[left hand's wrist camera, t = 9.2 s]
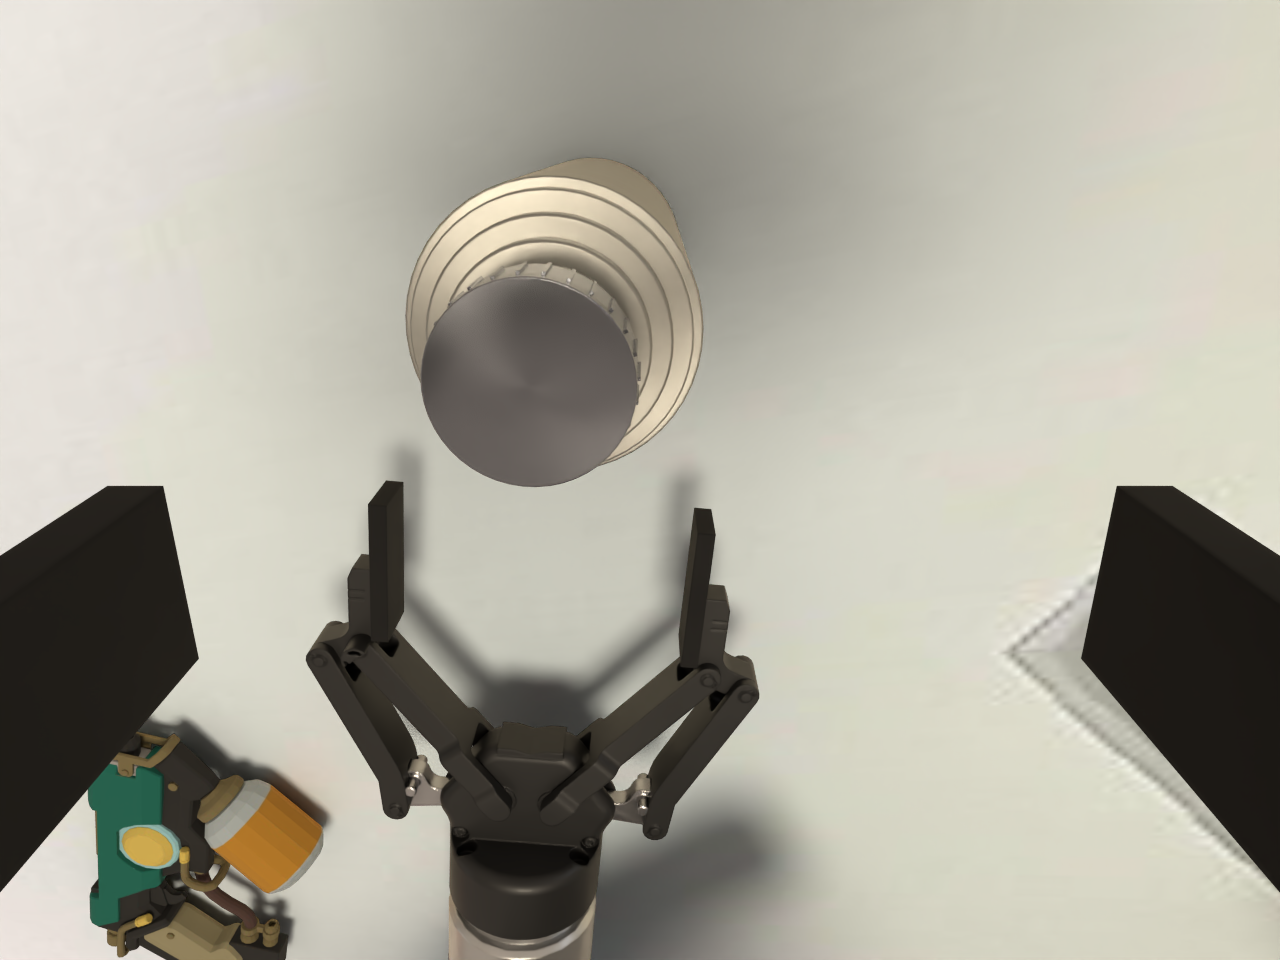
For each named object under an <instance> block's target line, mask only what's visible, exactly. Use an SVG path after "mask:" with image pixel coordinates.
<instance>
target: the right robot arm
mask: <svg viewBox="0 0 1280 960" xmlns="http://www.w3.org/2000/svg"><path fill="white" fill-rule="evenodd" d="M368 524H369V555H366V554H361V556H360V557H359V559H358V560H357V562H356V563H355V565H354V566H353V567H352V569H351V571H350V574H349V576H348V611H349V622H347V623H342V622H339V621H332V622H330V623H328V624H327V625H326V626H325V628H324V629H323V631H322V632H321V634H320V635H319V637H318V638H317V640H316V641H315V643H314V644H313V646H312V648H311V649H310V651H309V652H308V654H307V655H306V662H307V665H308V666H309V668H310V669H311V671H312V673H313V674H314V676H315V678H316V679H317V681H318V683H319V684H320V686H321V687H322V689H323V691H324V692H325V694H326V696H327V697H328V699H329V701H330V702H331V704H332V706H333V707H334V709H335V710H336V712H337V714H338V715H339V717H340V719H341V720H342V722H343V724H344V725H345V727H346V728H347V730H348V732H349V733H350V735H351V737H352V738H353V740H354V742H355V743H356V745H357V747H358V748H359V750H360V751H361V753H362V755H363V756H364V758H365V760H366V761H367V763H368V765H369V766H370V768H371V769H372V771H373V773H374V774H375V776H376V778H377V779H378V781H379V787H380V793H381V799H382V805H383V810H384V813H385V814H386V815H387V816H388V817H390V818H392V819H402V818H404V817H405V816H406V815H407V813H408V811H409V808H410V806H427V805H441V806H442V808H443V810H444V811H445V813H446V814H447V816H448V818H449V820H450V896H449V954H448V956H449V960H590V959H591V949H592V939H593V928H594V918H595V908H596V891H597V885H598V875H599V865H600V855H601V845H602V834H603V831H604V829H605V828H606V826H607V825H608V824H609V823H610V822H611V820H612V819H614V820H619V821H625V822H631V823H637V824H643V833H644V835H645V836H646V837H647V838H648V839H651V840H659V839H662V838H663V837H665V836H666V834H667V832H668V828H669V825H670V821H671V817H672V814H673V810H674V807H675V805H676V803H677V802H678V801H679V799H680V798H681V797H682V796H683V794H684V793H685V792H686V791H687V789H688V788H689V787H690V786H691V784H692V783H693V782H694V781H695V779H696V778H697V777H698V776H699V774H700V773H701V772H702V771H703V769H704V768H705V767H706V766H707V764H708V763H709V762H710V761H711V759H712V758H713V757H714V756H715V754H716V753H717V752H718V751H719V749H720V748H721V747H722V746H723V744H724V743H725V742H726V740H727V739H728V738H729V737H730V735H731V734H732V733H733V732H734V730H735V729H736V728H737V727H738V725H739V724H740V723H741V722H742V720H743V719H744V718H745V717H746V715H747V714H748V713H749V712H750V710H751V709H752V708H753V707H754V705H755V704H756V703H757V701H758V699H759V690H758V685H757V680H756V675H755V670H754V665H753V662H752V660H751V659H750V658H748V657H746V656H736V657H734V656H731V655H729V654H727V653H726V652H725V651H724V649H725V642H726V635H727V628H728V621H729V615H730V609H729V603H728V597H727V593H726V590H725V586H722V585H711V584H709V580H710V572H711V565H712V558H713V550H714V543H715V536H716V534H715V528H714V523H713V517H712V511H711V509H702V508H694V515H693V523H692V531H691V539H690V547H689V555H688V563H687V571H686V579H685V587H684V595H683V603H682V611H681V619H680V628H679V649H680V657H679V658H678V659H676V660H675V661H674V662H673V663H672V664H670V665H669V666H668V667H667V668H666V669H664V670H663V671H662V672H661V673H660V674H658V675H657V676H656V677H655V678H653V679H652V680H651V681H650V682H649V683H647V684H646V685H645V686H644V687H643V688H641V689H640V690H639V691H638V692H637V693H635V694H634V695H633V696H632V697H630V698H629V699H628V700H627V701H626V702H624V703H623V704H622V705H621V706H620V707H618V708H617V709H616V710H615V711H614V712H612V713H611V714H610V715H609V716H607V717H606V718H605V719H602V718H598V719H597V720H596V721H594V722H593V723H592V724H591V725H590V726H588V727H587V728H586V729H585V730H584V731H582V732H581V733H580V734H579V735H577V736H575V735H573V734H571V733H569V732H567V727H561V726H546V727H539V728H533V727H530V726H527V725H524V724H520V723H512V722H503V726H502V727H498V728H495V729H494V728H493V727H492V726H491V725H490V723H489V722H488V721H487V720H486V719H485V718H484V717H483V716H482V715H481V714H480V712H479V711H478V710H477V709H475V708H473V707H471V708H468V707H467V706H466V705H465V704H464V703H463V702H462V701H461V700H460V699H459V698H458V697H457V695H456V694H455V693H454V692H453V691H452V690H451V689H450V688H449V687H448V686H447V685H446V683H445V682H444V681H443V680H442V679H441V678H440V677H439V676H438V675H437V674H436V672H435V671H434V670H433V669H432V668H431V667H430V666H429V665H428V664H427V663H426V662H425V660H424V659H423V658H422V657H421V656H420V655H419V654H418V653H417V652H416V651H415V649H414V648H413V647H412V646H411V645H410V644H409V643H408V642H407V641H406V640H405V639H404V637H403V636H402V635H401V634H400V633H399V632H398V631H397V630H396V629H395V628H396V626H397V624H398V622H399V620H400V618H401V616H402V614H403V612H404V523H403V482H396V481H386V482H385V483H384V484H383V485H382V487H381V488H380V489H379V491H378V492H377V493H376V495H375V496H374V497H373V499H372V500H371V501H370V503H369V504H368ZM393 705H394V706H395V707H396V708H397V709H398V710H399V711H400V712H401V713H402V714H403V715H404V716H405V717H406V718H407V719H408V720H409V721H410V723H411V724H412V725H413V726H414V727H415V728H416V729H417V730H418V731H419V732H420V733H421V734H422V735H423V736H424V737H425V738H426V739H427V740H428V742H429V743H430V744H431V745H432V746H433V747H434V748H435V749H436V750H437V752H438V754H439V759H440V762H441V764H442V765H443V767H444V768H445V769H446V770H447V771H448V773H447V775H446V777H443V776H438V775H436V774H435V773H433V771H432V770H431V768H430V766H429V764H428V763H427V761H428V759H427V757H426V756H424V755H418V756H417V751H416V747H415V744H414V741H413V739H412V737H411V735H410V733H409V732H408V730H407V728H406V726H405V725H404V723H403V721H402V720H401V718H400V716H399V714H398V713H397V711H396V709H395V708H394V706H393ZM692 708H693V710H692V711H691V712H690V714H689V715H688V716H687V717H686V719H685V720H684V721H683V723H682V724H681V725H680V727H679V728H678V729H677V731H676V732H675V733H674V734H673V736H672V737H671V738H670V740H669V741H668V742H667V744H666V745H665V746H664V747H663V749H662V750H661V751H660V753H659V754H658V755H657V757H656V758H655V760H654V762H653V764H652V766H651V768H650V770H649V773H648V775H647V774H645V773H641V774H639V775H638V777H637V779H636V780H635V781H634V782H633V783H632V785H631V786H630V787H629V788H628V789H626V790H624V791H616V790H615V786H614V784H613V783H612V781H611V780H612V779H613V778H614V777H615V775H616V774H617V772H618V770H619V768H620V766H621V765H622V764H624V763H625V762H626V761H627V760H629V759H630V758H631V757H632V756H634V755H635V754H636V753H637V752H639V751H640V750H641V749H642V748H644V747H645V746H646V745H647V744H649V743H650V742H651V741H652V740H654V739H655V738H656V737H657V736H659V735H660V734H661V733H662V732H664V731H665V730H666V729H667V728H669V727H670V726H671V725H672V724H674V723H675V722H676V721H677V720H679V719H680V718H681V717H682V716H684V715H685V714H686V713H687V712H689V711H690V710H691V709H692ZM472 745H473V747H472ZM471 747H472V748H471Z"/></svg>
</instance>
